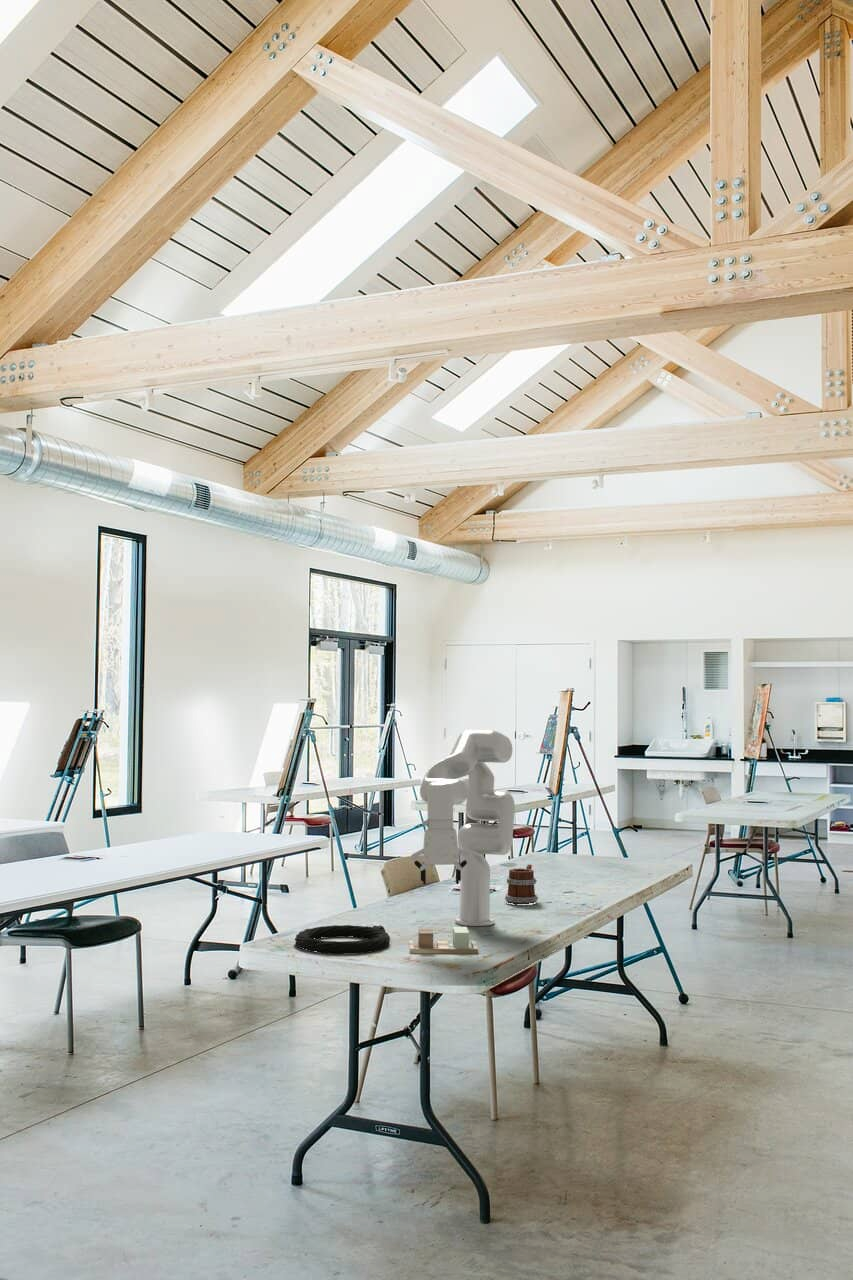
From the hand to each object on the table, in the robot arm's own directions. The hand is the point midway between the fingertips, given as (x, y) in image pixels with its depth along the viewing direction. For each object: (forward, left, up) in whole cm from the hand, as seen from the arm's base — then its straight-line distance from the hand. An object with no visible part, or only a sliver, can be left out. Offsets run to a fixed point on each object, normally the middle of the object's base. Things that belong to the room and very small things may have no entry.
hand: (440, 883), depth 323 cm
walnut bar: (+7, -4, -17) cm, 19 cm away
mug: (-73, +33, -18) cm, 82 cm away
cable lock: (+1, -27, -18) cm, 33 cm away
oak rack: (+6, +1, -17) cm, 18 cm away
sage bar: (+6, +6, -17) cm, 19 cm away
